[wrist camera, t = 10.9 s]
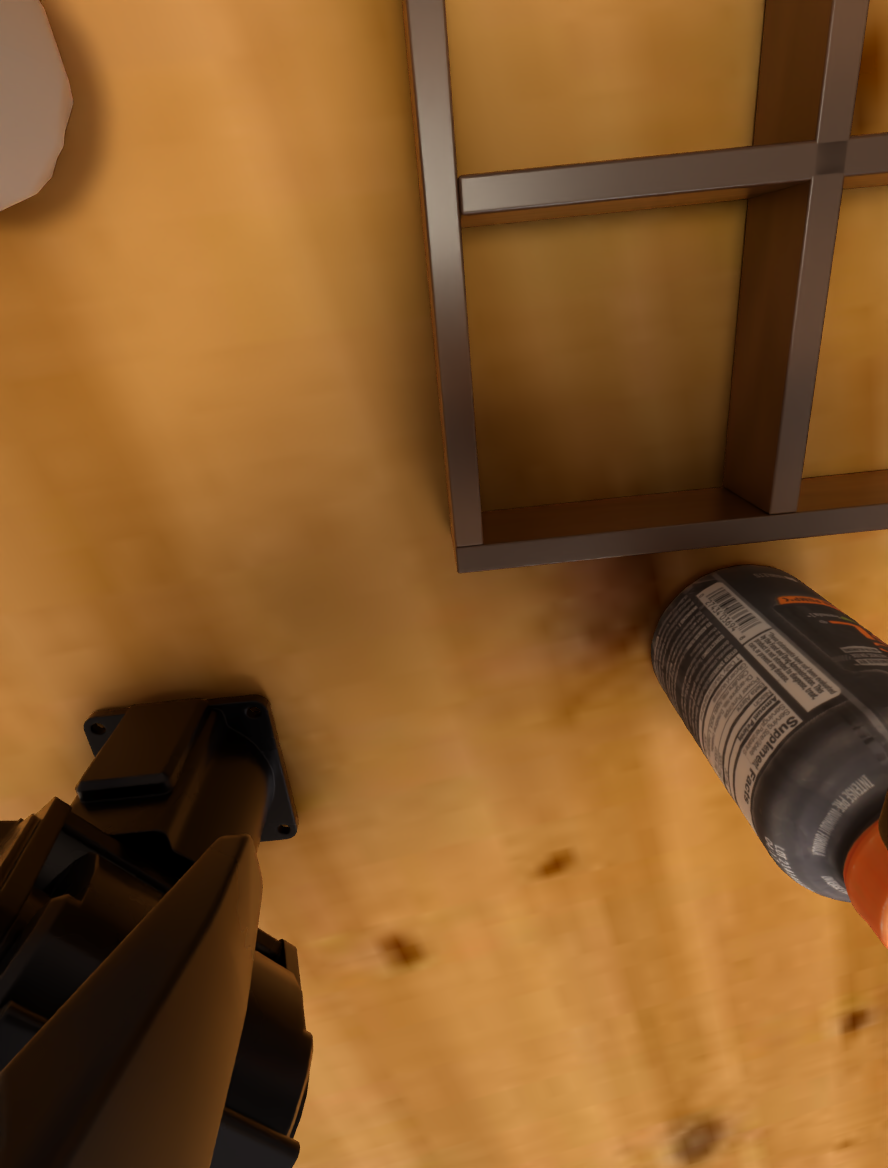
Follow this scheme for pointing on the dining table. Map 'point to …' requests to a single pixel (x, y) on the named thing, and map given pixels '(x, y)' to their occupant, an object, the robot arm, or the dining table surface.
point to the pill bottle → (788, 722)
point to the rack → (766, 304)
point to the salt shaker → (29, 100)
